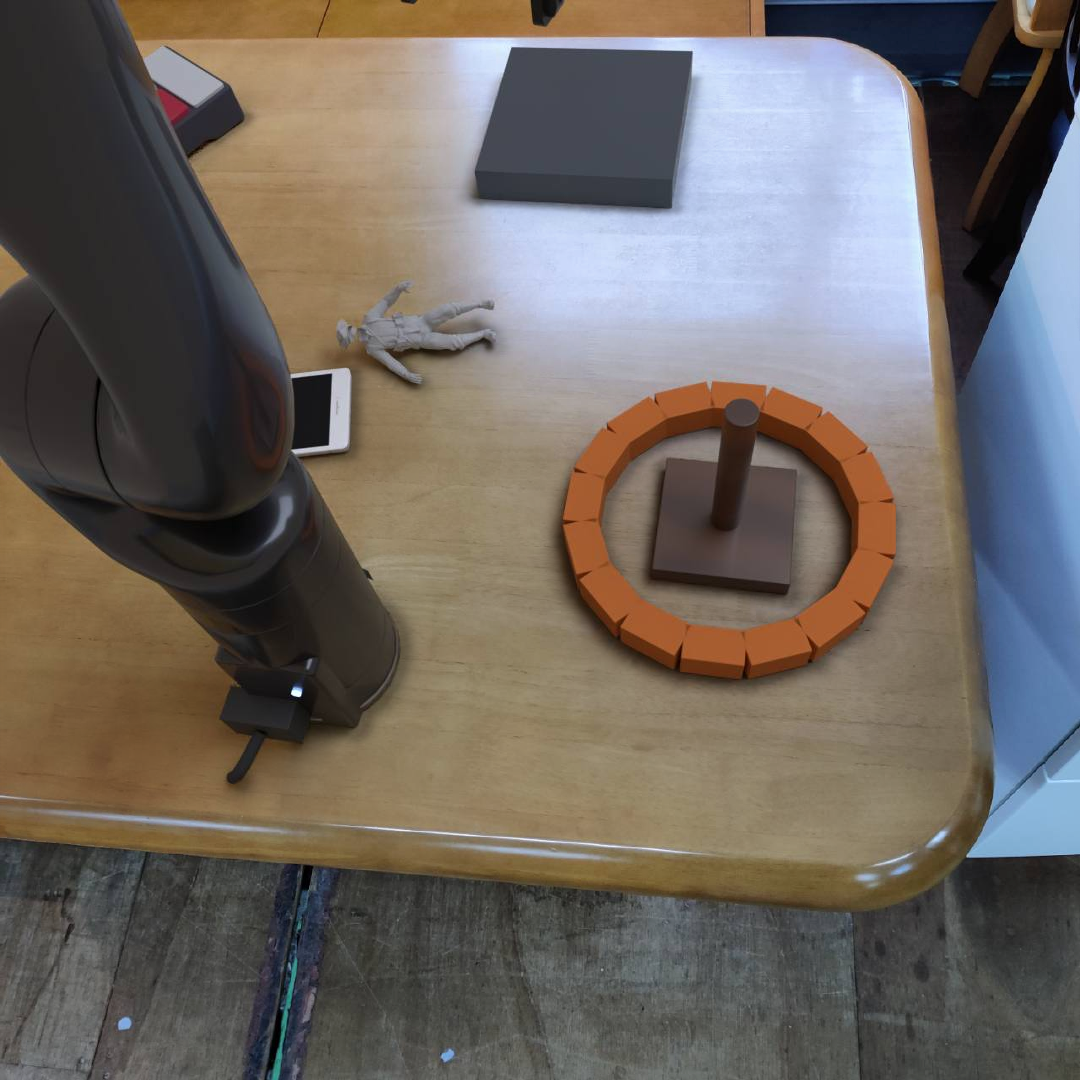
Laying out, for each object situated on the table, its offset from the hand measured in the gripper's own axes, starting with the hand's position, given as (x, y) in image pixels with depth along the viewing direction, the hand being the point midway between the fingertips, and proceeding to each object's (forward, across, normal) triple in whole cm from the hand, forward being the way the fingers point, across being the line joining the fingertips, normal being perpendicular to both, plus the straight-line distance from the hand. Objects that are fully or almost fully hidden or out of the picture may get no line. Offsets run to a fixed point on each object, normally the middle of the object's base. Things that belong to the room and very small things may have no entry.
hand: (479, 7), depth 56 cm
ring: (+26, +21, -14) cm, 36 cm away
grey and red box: (+25, -44, +9) cm, 51 cm away
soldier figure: (+26, -6, -6) cm, 27 cm away
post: (+26, +21, -14) cm, 36 cm away
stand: (+25, -3, +21) cm, 33 cm away
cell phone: (+26, -16, -17) cm, 35 cm away
